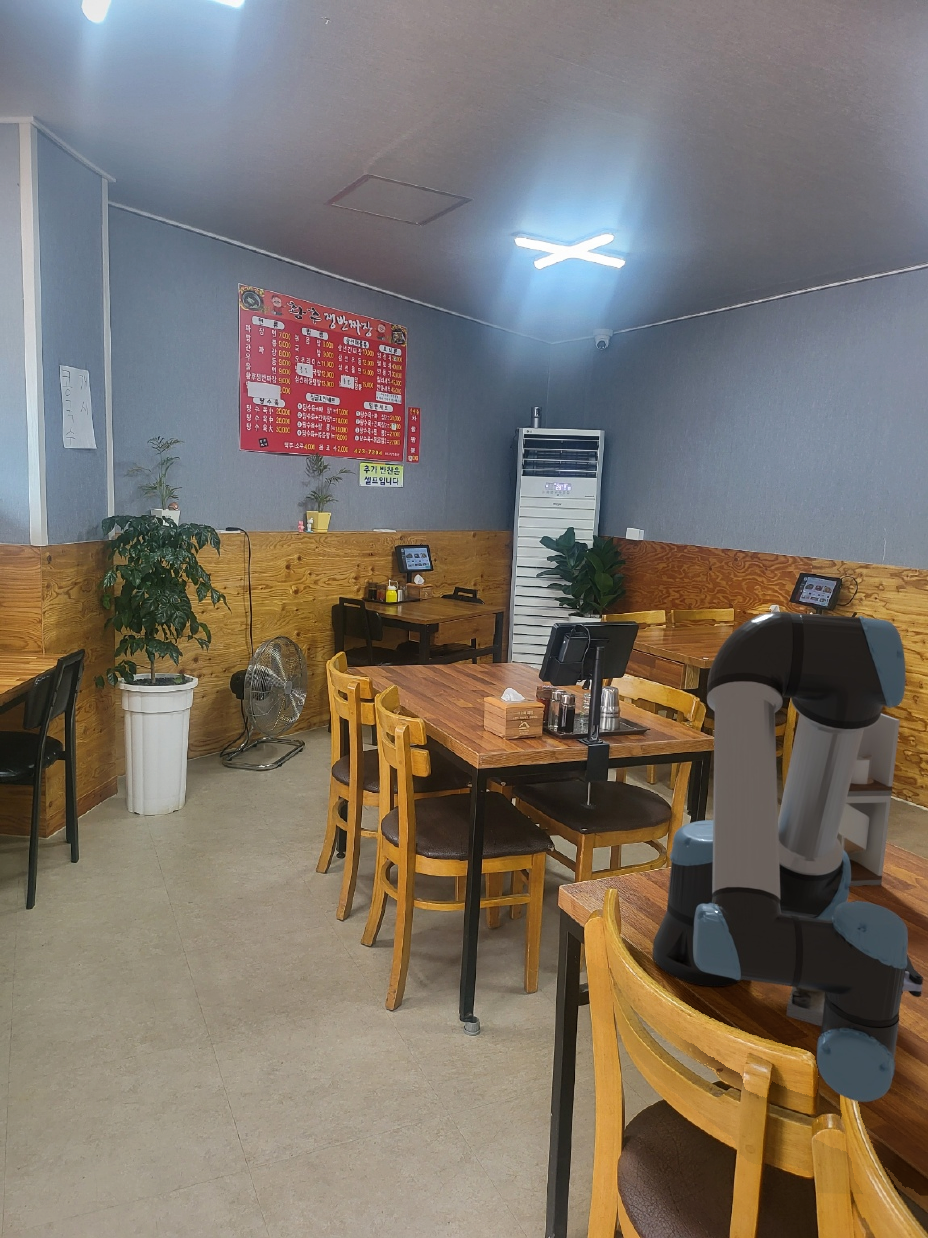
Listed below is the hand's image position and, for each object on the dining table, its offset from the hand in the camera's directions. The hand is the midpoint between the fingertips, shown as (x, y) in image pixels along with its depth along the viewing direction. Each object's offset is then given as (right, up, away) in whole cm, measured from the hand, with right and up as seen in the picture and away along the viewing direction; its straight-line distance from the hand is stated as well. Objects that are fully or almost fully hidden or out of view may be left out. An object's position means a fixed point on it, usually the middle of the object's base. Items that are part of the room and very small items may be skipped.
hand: (874, 920), depth 123 cm
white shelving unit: (+20, -11, +56) cm, 61 cm away
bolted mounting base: (-1, -15, +9) cm, 18 cm away
